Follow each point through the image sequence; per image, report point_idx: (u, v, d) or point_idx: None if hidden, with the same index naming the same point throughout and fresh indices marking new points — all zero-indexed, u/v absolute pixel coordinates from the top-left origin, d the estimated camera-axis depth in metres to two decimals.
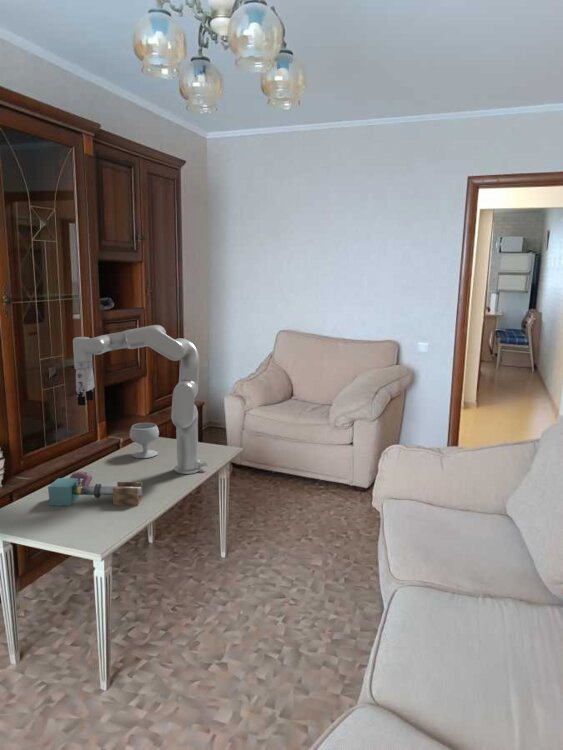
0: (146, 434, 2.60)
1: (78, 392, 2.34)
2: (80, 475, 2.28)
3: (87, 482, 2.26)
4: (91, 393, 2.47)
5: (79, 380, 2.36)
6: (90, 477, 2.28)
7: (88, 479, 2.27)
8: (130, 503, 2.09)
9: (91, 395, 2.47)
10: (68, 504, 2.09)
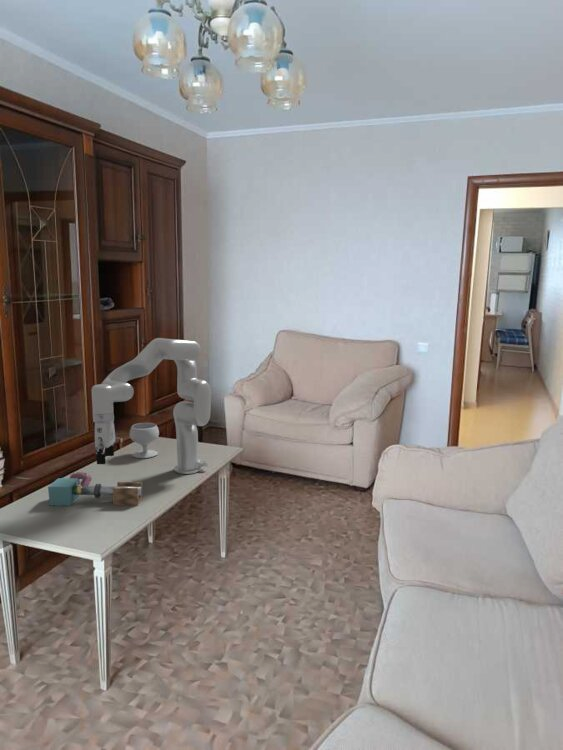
0: (146, 434, 2.60)
1: (97, 450, 2.01)
2: (79, 476, 2.27)
3: (86, 482, 2.25)
4: (111, 448, 2.13)
5: (98, 435, 2.03)
6: (89, 477, 2.27)
7: (87, 479, 2.26)
8: (130, 503, 2.09)
9: (111, 450, 2.13)
10: (68, 504, 2.09)
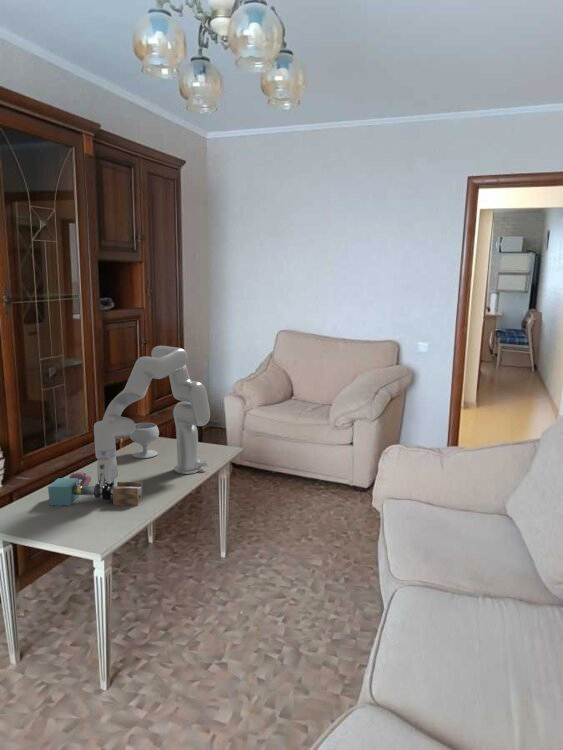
0: (146, 434, 2.60)
1: (103, 488, 2.06)
2: (79, 476, 2.27)
3: (86, 483, 2.25)
4: None
5: (101, 472, 2.05)
6: (89, 478, 2.27)
7: (87, 480, 2.26)
8: (130, 503, 2.09)
9: None
10: (68, 504, 2.09)
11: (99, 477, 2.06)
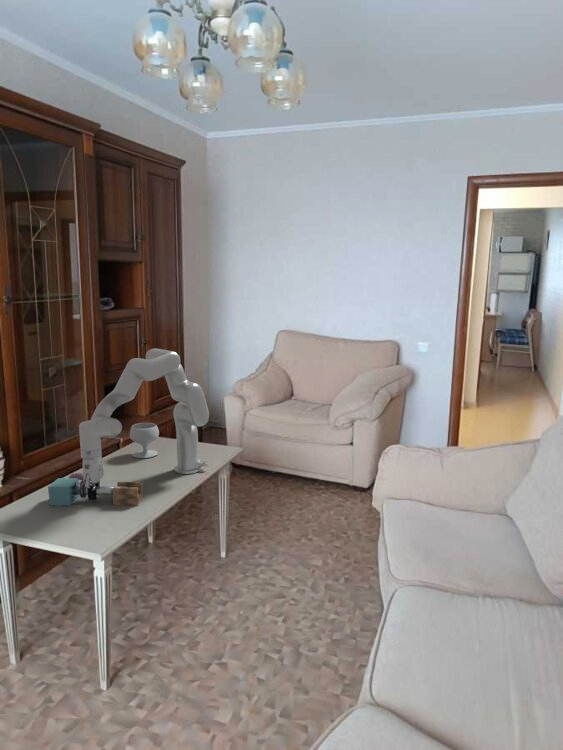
0: (146, 434, 2.60)
1: (88, 488, 2.07)
2: (78, 476, 2.26)
3: None
4: None
5: (86, 472, 2.06)
6: None
7: None
8: (130, 503, 2.09)
9: None
10: (68, 504, 2.09)
11: (84, 477, 2.06)
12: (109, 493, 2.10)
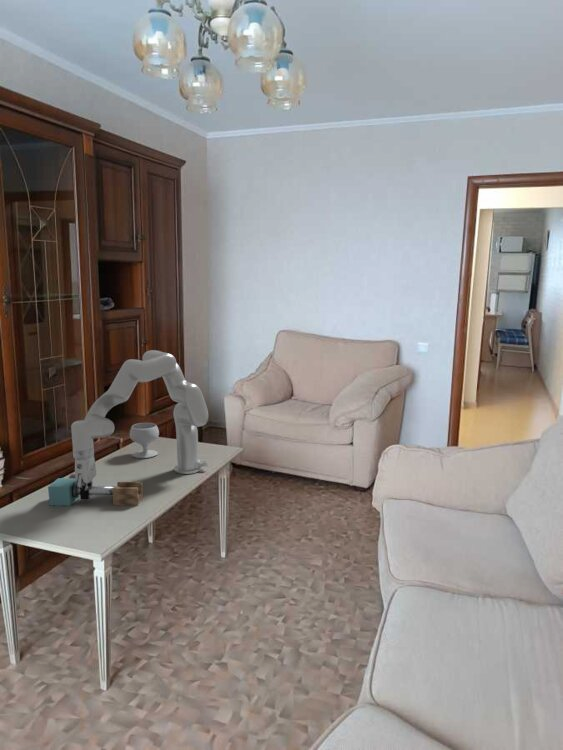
0: (146, 434, 2.60)
1: (81, 488, 2.07)
2: None
3: None
4: None
5: (78, 472, 2.06)
6: None
7: None
8: (130, 503, 2.09)
9: None
10: (68, 504, 2.09)
11: (77, 477, 2.06)
12: (101, 493, 2.10)
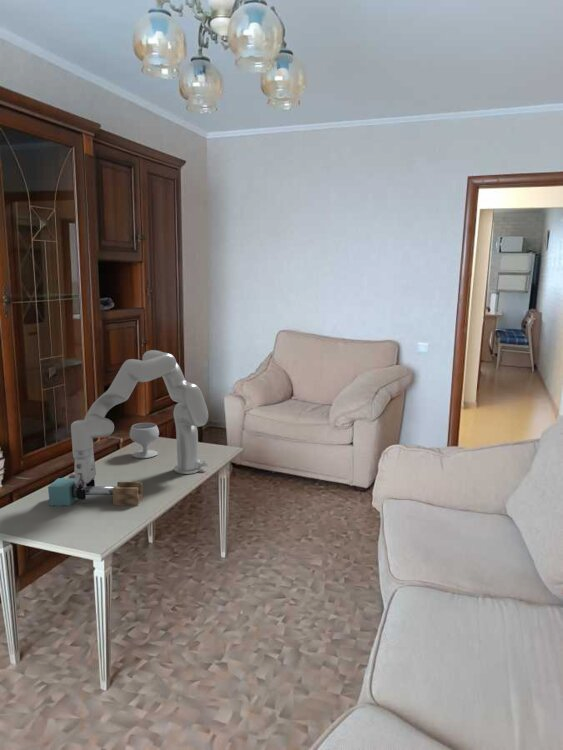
0: (146, 434, 2.60)
1: (77, 486, 2.04)
2: None
3: (85, 484, 2.24)
4: (92, 481, 2.16)
5: (78, 471, 2.06)
6: None
7: None
8: (130, 503, 2.09)
9: (92, 484, 2.16)
10: (68, 504, 2.09)
11: (76, 477, 2.06)
12: (101, 493, 2.10)
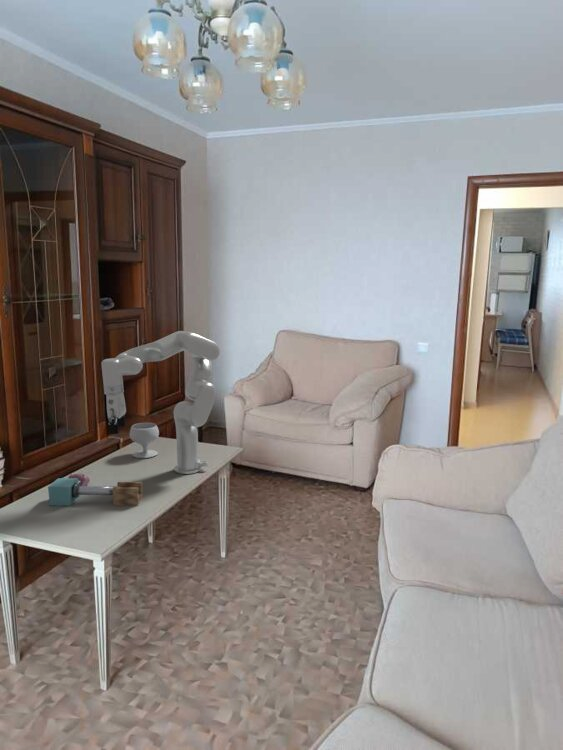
0: (146, 434, 2.60)
1: (110, 420, 2.12)
2: (77, 477, 2.25)
3: (84, 484, 2.24)
4: (123, 419, 2.25)
5: (110, 407, 2.14)
6: (87, 479, 2.26)
7: (85, 481, 2.24)
8: (130, 503, 2.09)
9: (123, 421, 2.25)
10: (68, 504, 2.09)
11: (108, 412, 2.15)
12: (101, 493, 2.10)
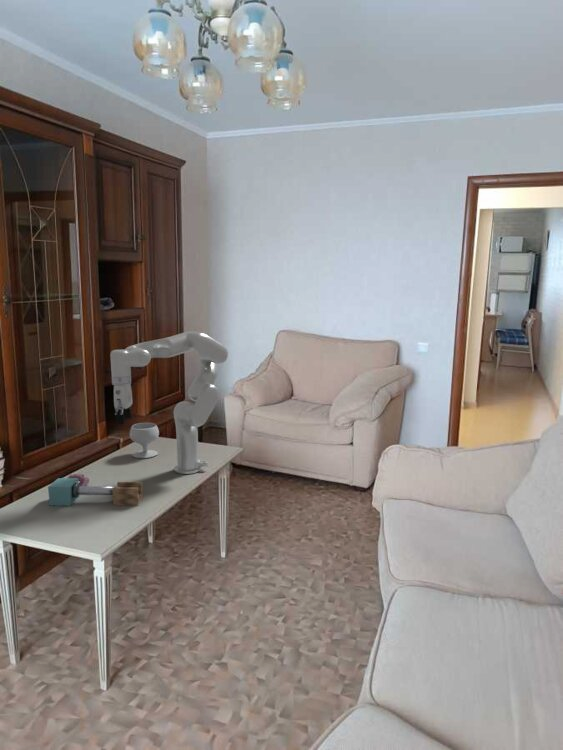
0: (146, 434, 2.60)
1: (117, 410, 2.15)
2: (77, 477, 2.25)
3: (84, 484, 2.23)
4: (129, 410, 2.27)
5: (117, 397, 2.16)
6: (87, 479, 2.25)
7: (85, 481, 2.24)
8: (130, 503, 2.09)
9: (129, 412, 2.27)
10: (68, 504, 2.09)
11: (115, 402, 2.17)
12: (101, 493, 2.10)
